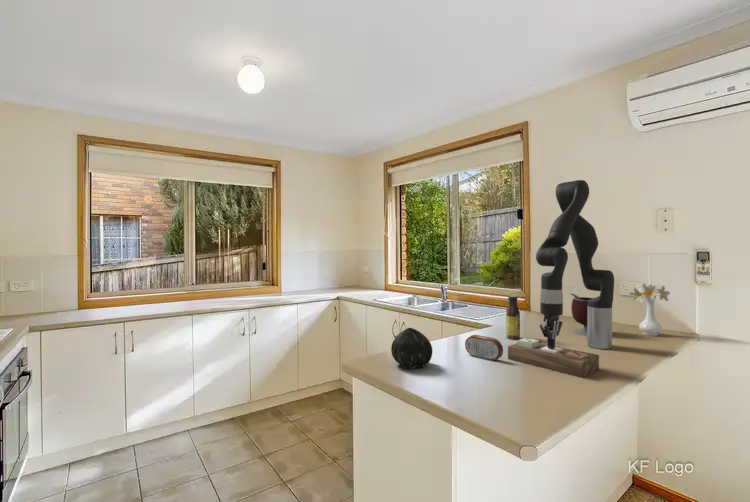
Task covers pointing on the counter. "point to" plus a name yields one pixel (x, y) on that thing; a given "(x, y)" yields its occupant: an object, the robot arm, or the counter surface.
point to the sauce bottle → (512, 319)
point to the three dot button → (577, 355)
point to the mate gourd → (580, 312)
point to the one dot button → (551, 350)
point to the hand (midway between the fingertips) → (551, 348)
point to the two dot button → (528, 343)
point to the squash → (411, 349)
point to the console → (554, 360)
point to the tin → (484, 347)
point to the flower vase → (650, 307)
